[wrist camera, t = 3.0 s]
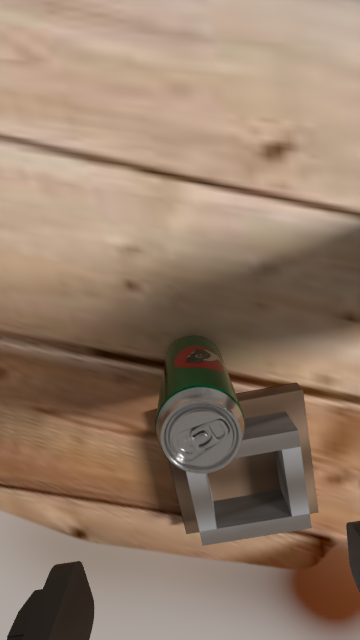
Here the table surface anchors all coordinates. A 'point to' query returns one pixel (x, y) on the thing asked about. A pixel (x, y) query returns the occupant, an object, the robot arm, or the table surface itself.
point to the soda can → (198, 408)
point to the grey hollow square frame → (256, 474)
